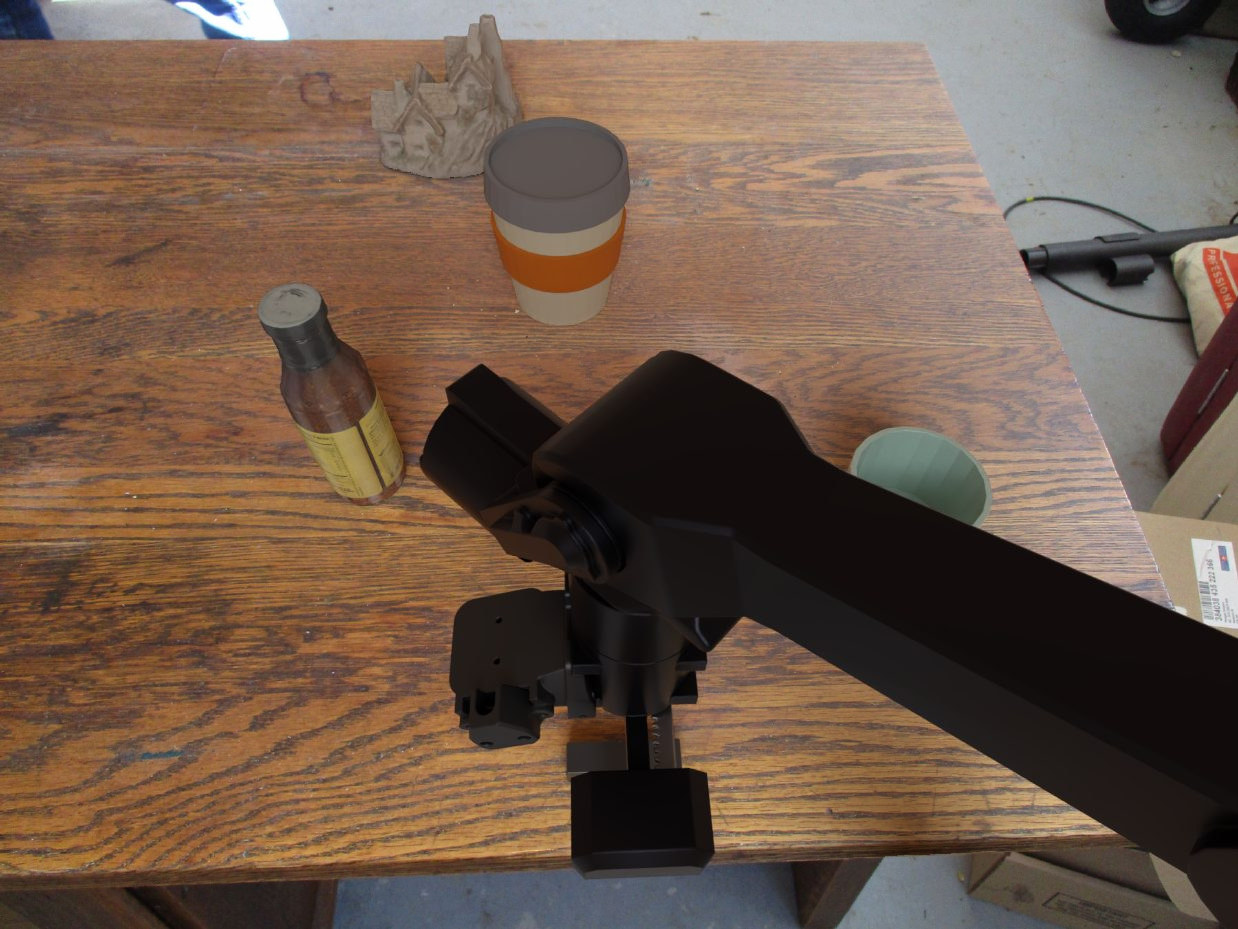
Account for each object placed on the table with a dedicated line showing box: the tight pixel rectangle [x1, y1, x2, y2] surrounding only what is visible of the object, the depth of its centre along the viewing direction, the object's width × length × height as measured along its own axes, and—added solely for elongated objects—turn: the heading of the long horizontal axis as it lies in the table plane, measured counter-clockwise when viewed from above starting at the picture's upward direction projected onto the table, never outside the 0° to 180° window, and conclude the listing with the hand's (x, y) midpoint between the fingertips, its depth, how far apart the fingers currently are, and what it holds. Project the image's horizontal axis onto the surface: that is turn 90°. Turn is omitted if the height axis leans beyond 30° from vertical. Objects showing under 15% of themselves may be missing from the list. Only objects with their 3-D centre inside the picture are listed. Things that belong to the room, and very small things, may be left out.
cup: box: [846, 425, 994, 529], centre depth 62 cm, size 10×10×8 cm
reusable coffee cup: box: [483, 116, 631, 327], centre depth 75 cm, size 13×13×15 cm
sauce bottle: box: [256, 282, 407, 506], centre depth 60 cm, size 7×6×20 cm
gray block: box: [565, 738, 683, 783], centre depth 54 cm, size 7×2×2 cm, turn 92°
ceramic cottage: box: [370, 13, 524, 179], centre depth 90 cm, size 16×16×15 cm
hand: (628, 722), depth 48 cm, fingers open, 9 cm apart
